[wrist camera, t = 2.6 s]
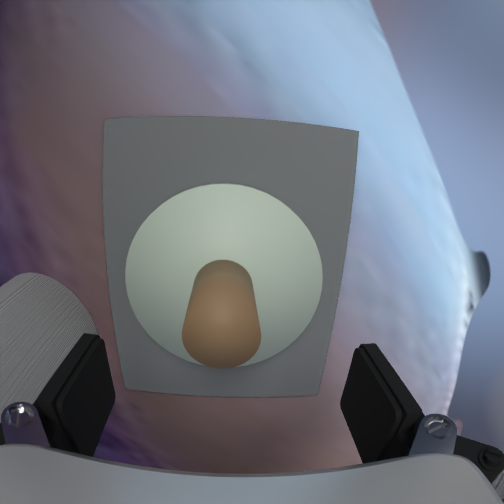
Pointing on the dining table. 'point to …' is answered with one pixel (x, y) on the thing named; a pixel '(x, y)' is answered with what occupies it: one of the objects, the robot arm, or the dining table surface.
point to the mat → (237, 172)
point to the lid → (223, 275)
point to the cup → (36, 334)
